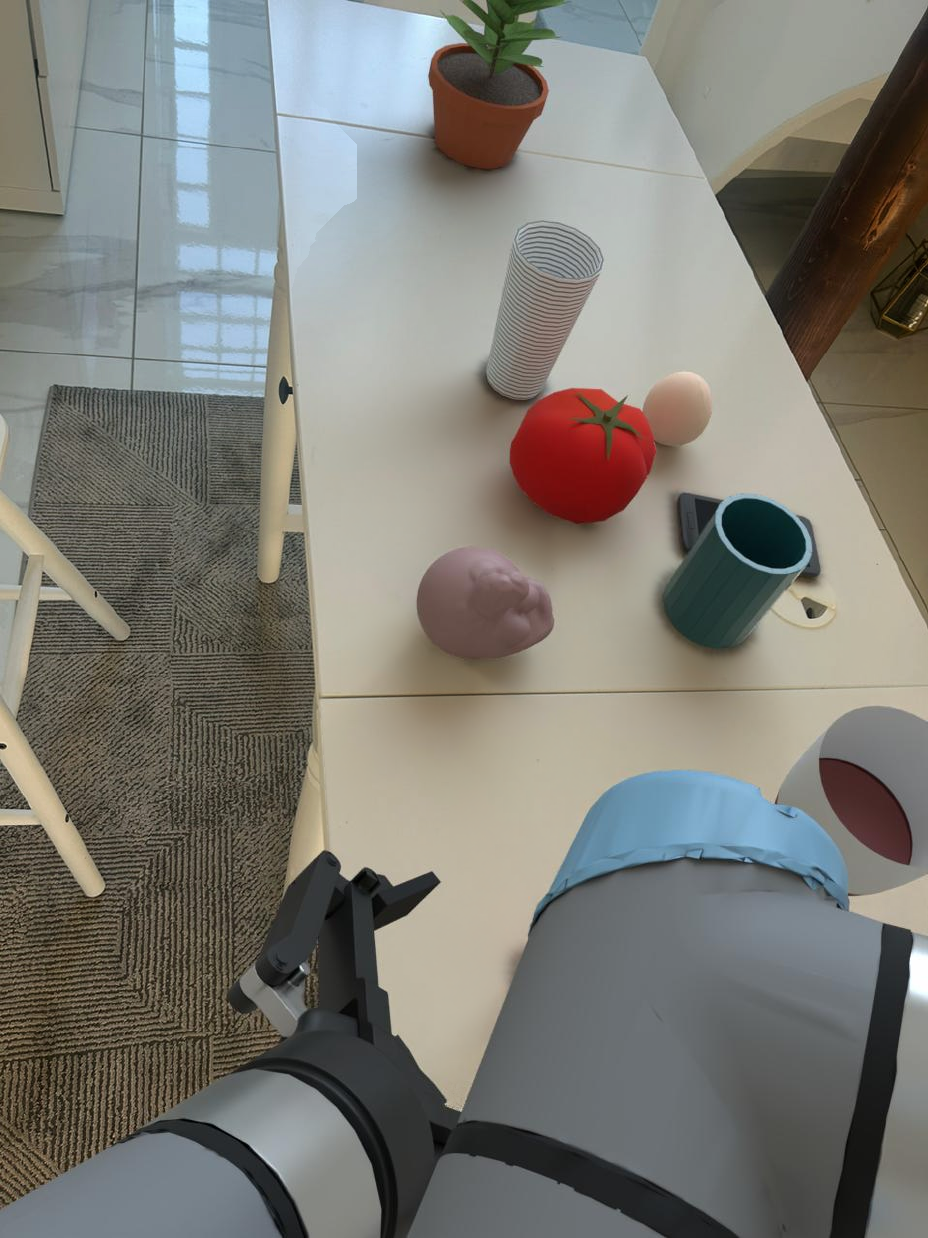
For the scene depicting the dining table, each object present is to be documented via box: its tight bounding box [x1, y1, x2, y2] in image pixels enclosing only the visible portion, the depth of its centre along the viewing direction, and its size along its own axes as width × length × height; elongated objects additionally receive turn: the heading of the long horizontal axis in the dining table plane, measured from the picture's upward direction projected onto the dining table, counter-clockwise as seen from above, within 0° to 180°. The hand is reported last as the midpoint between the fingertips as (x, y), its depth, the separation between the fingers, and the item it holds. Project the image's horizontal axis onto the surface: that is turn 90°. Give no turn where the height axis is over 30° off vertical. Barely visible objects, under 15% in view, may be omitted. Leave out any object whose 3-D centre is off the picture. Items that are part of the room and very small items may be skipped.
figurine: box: [416, 546, 555, 661], centre depth 76 cm, size 9×11×12 cm
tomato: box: [509, 387, 658, 525], centre depth 88 cm, size 13×12×11 cm
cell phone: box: [677, 492, 822, 579], centre depth 94 cm, size 7×14×1 cm, turn 87°
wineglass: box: [774, 705, 928, 897], centre depth 62 cm, size 9×10×23 cm
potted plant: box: [428, 0, 573, 170], centre depth 111 cm, size 15×15×30 cm
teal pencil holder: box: [662, 492, 812, 650], centre depth 83 cm, size 8×8×11 cm
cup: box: [485, 220, 605, 401], centre depth 93 cm, size 8×8×16 cm
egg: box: [641, 371, 713, 447], centre depth 97 cm, size 7×7×8 cm
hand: (503, 998), depth 50 cm, fingers open, 13 cm apart
